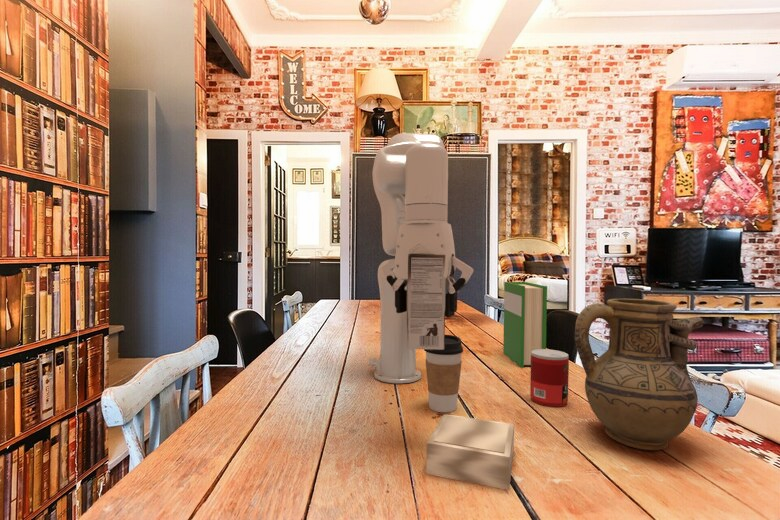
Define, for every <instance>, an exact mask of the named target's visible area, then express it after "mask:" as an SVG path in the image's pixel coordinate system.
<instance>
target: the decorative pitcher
mask: <svg viewBox="0 0 780 520" xmlns="http://www.w3.org/2000/svg"><path fill="white" fill-rule="evenodd" d="M606 303H607V305H606V304H603V303H593V304H589V305H587V306H586V307H584V308H583V309H582V310H581V311H580V312H579V314H578V315H577V318H576V321H575V326H574V328H575V329H574V342H575V346H576V347H575V348H576V350H577V354H578V358H580V359H579V360H580V363H581V365H582V369H583V370H584V372H585V375H586V376H585V379H584V391H585V395H586V399H587V402H588V404H589V407H590V408H591V411H592V412H593V413H594V416H596V418H597V419H598V420H599V422H600V423H601V424H602V425H603V426H605V429H604V430H605V433H606V435H607V436H608V437H609V438H610V439H612V440H613V441H616V442H618V443H620V444H622V445H624V446H627V447H629V448H634V449H636V450H637V449H638V450H641V451H660V450H661V451H662V450H663V449H666V448H667V447H668V445H669V442H668V441H670V440H673V439H675V438H677V437H678V436H680V435H681V434H682V433H683V432H684V431H686V429H687V428H688V426H689V425H690V423H691V421H693V420H692V419H693V417H694V415H695V413H696V411H697V408H698V407H697V406H698V400H699V399H698V393H697V390H696V387H695V386H694V384H693V382H692V380H691V377H690V373H689V370H688V366H687V365H688V364H687V363H688V358H689V357H688V351H694V350H697V348H698V344H697V342H696V341H695V340H694V339H692V338H689V334H690V333H692V331H693V330H695V329H699V328H702V327H703V326H704V325H705V321H704V320H703V318H702V317H700V316H694V317H685V318H681V319H679V318H678V319H674V314H673V313H674V311H675V310H676V309H677V304H676V303H673V302H669V301H664V300H663V301H662V300H655V299H645V298H644V299H642V298H641V299H640V298H611V299H608V300H607V301H606ZM597 319H602V320H604V321H605V323H607V324H608V325H609V327H610V328H609V335H608V338H609V339H608V341H609V342H608V348H607V350H606V351H605V352H603V353H602V354H601V355H599V356H598V357H597V359H595V356H594V353H593V349H592V347H591V343H590V338H589V337H590V329H591V326H592V324H593V323H594V321H595V320H597Z"/></svg>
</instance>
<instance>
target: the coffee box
mask: <svg viewBox="0 0 780 520" xmlns="http://www.w3.org/2000/svg"><path fill="white" fill-rule="evenodd" d="M445 260H446V255H434V254H408V280H407V342H408V349H416V350H424V349H437V350H443V349H444V344H445V335H446V334H445V332H446V331H445V330H446V326H445V325H446V316H445V294H446V288H445V285H446V278H445V277H443V276H444V270H445Z"/></svg>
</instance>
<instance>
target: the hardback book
mask: <svg viewBox="0 0 780 520" xmlns="http://www.w3.org/2000/svg"><path fill="white" fill-rule="evenodd" d="M503 286H504V288H503V289H504V290H503V291H504V292H503V345H502V346H503V348H502V349H503V354H504V355H505V357H507V356H508V357H509V358H508V357H507V358H508V359H509V360H511V361H512V362H513V363H514V362H515V363H516V364H515V363H514V364H515V365H517V366H518V367H519V368H520V369H523V368H525V367H524V366H531V351H533V350H537V349H547V318H548V317H547V313H548V312H547V310H548V309H547V307H548V306H547V305H548V286H547V285H541V284H537V283H533V282H528V281H504V285H503Z"/></svg>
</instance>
